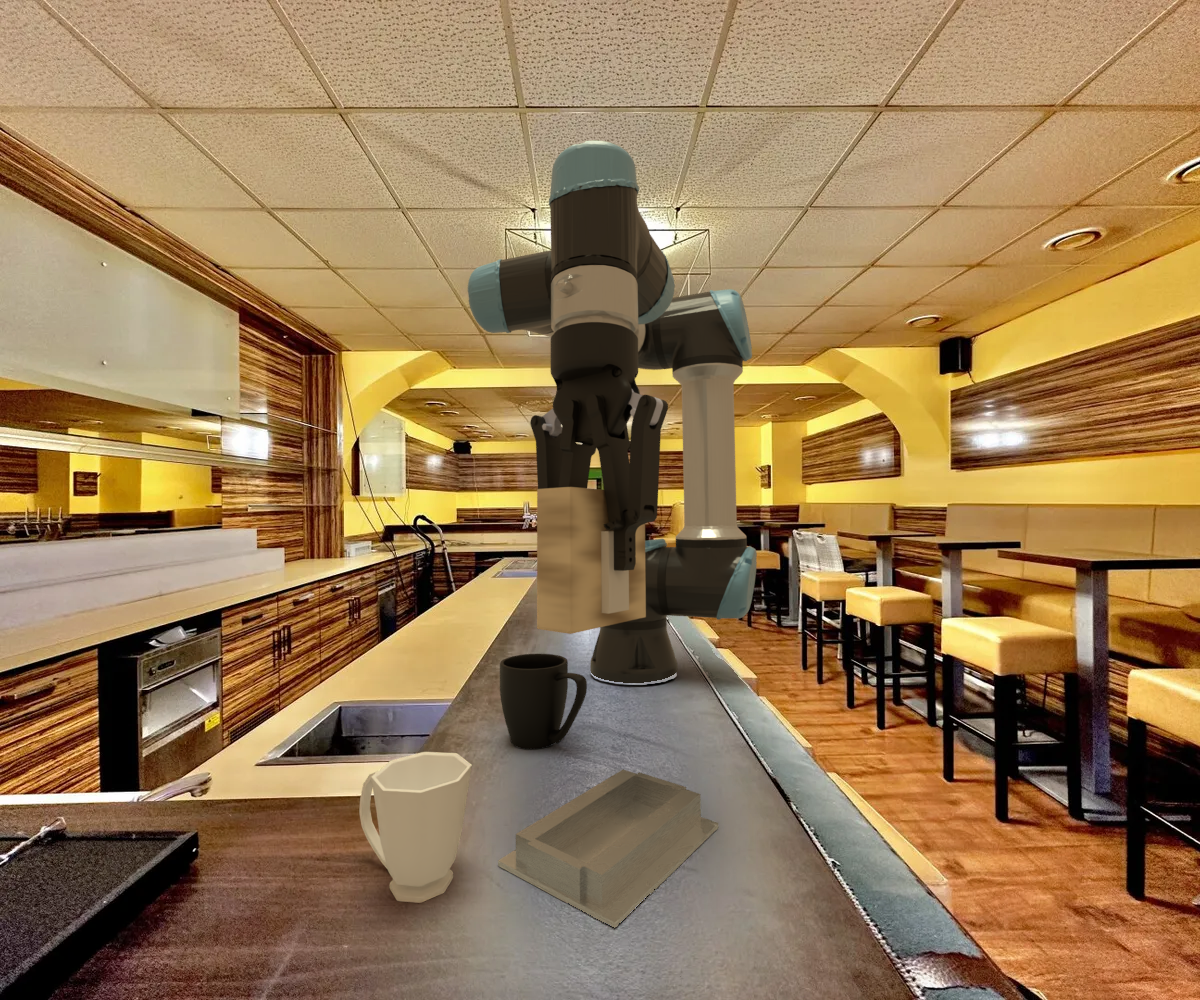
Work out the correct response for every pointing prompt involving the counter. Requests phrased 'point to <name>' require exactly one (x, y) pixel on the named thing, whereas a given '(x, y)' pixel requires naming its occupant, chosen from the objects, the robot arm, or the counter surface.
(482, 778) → the counter surface
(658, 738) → the counter surface
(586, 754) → the counter surface
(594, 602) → the wooden block
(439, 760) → the cup
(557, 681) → the mug
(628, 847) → the beige piece
